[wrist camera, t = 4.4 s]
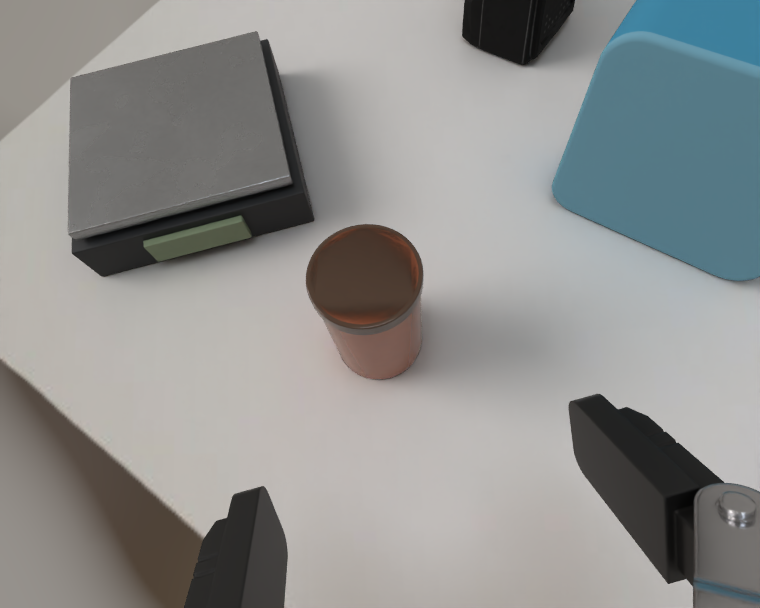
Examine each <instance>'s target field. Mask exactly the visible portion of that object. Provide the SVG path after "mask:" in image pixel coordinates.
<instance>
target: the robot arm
mask: <svg viewBox="0 0 760 608" xmlns="http://www.w3.org/2000/svg"><path fill="white" fill-rule="evenodd" d="M569 415H570V424H571V432H572V440H573V449H574V454H575V457H576V460H577V463H578V465H579V467H580V469H581V471H582V473H583V474H584V475H585V477H586V478H587V479H588V481H589V482H590V483H591V485H592V486H593V487H594V488H595V490H596V491H597V492H598V494H599V495H600V496H601V498H602V499H603V500H604V501H605V503H606V504H607V505H608V507H609V508H610V509H611V510H612V512H613V513H614V514H615V516H616V517H617V518H618V520H619V521H620V522H621V523H622V525H623V526H624V527H625V529H626V530H627V531H628V532H629V534H630V535H631V536H632V538H633V539H634V540H635V542H636V543H637V544H638V545H639V547H640V548H641V549H642V551H643V552H644V553H645V555H646V556H647V557H648V558H649V560H650V561H651V562H652V564H653V565H654V566H655V567H656V569H657V570H658V571H659V573H660V574H661V575H662V577H663V578H664V579H665V580H666V582H667V583H668V584H670V583H673V582H677V581H680V580H684V579H687V580H688V581H689V582H690V584H691V585H692V586H693V608H760V492H759V491H757V490H754V489H752V488H749V487H746V486H743V485H738V484H732V483H724V482H723V481H722V480H721V479H720V478H719V477H717V476H716V475H715V474H714V473H713V472H712V471H710V470H709V469H708V468H707V467H706V466H705V465H703V464H702V463H701V462H700V461H699V460H698V459H697V458H695V457H694V456H693V455H692V454H691V453H690V452H688V451H687V450H686V449H685V448H684V447H683V446H682V445H680V444H679V443H676V441H675V439H673V438H672V437H671V436H670V435H669V434H668V433H667V432H664V431H663V429H662V428H661V427H660V426H658V425H657V424H656V423H655V422H654V421H653V420H652V419H650V418H649V417H648V416H646V415H644V414H642V413H639V412H637V411H635V410H632V409H630V408H628V407H625V408H622V409H616V408H615V407H614V406H613V405H612V404H611V403H610V402H609V401H608V400H607V399H606V398H605V397H604V396H602V395H601V394H595V395H592V396H588V397H584V398H581V399H577V400H574V401H571V402H570V403H569ZM287 559H288V552H287V543H286V538H285V534H284V531H283V528H282V526H281V523H280V521H279V518H278V516H277V514H276V511H275V509H274V506H273V504H272V501H271V499H270V496H269V494H268V492H267V490H266V488H265V487H264V486H261V487H258V488H254V489H251V490H247V491H244V492H240V493H236V494H234V495H233V497H232V500H231V504H230V508H229V512H228V517H227V518H225V519H222V520H218V521H216V522H215V523H214V525H213V526H212V528H211V529H210V531H209V532H208V533H207V535H206V536H205V538H204V539H203V542H202V546H201V549H200V553H199V557H198V563H196V567H195V570H194V574H193V576H194V579H192V581H191V585H190V588H189V592H188V595H187V599H186V602H185V606H184V608H284V600H285V586H286V572H287Z"/></svg>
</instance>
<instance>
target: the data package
mask: <svg viewBox="0 0 760 608" xmlns="http://www.w3.org/2000/svg"><path fill="white" fill-rule="evenodd" d="M552 192H553V195H554V197H555V198H556V200H557V201H558V202H559V203H560V204H561V205H562V206H563V207H564V208H566V209H568V210H570V211H572V212H574V213H576V214H578V215H581V216H583V217H585V218H587V219H589V220H592V221H594V222H596V223H598V224H601V225H603V226H605V227H607V228H610V229H612V230H614V231H616V232H619V233H621V234H623V235H625V236H628V237H630V238H632V239H634V240H637V241H639V242H641V243H643V244H646V245H648V246H650V247H652V248H654V249H657V250H659V251H661V252H663V253H666V254H668V255H670V256H672V257H675V258H677V259H679V260H681V261H684V262H686V263H688V264H690V265H693V266H695V267H697V268H699V269H702V270H704V271H706V272H708V273H710V274H713V275H715V276H718V277H720V278H724V279H728V280H736V281H744V280H751V279H755V278H758V277H760V0H636V2H635V3H634V5H633V6H632V8H631V9H630V11H629V12H628V14H627V15H626V17H625V18H624V20H623V22H622V23H621V25H620V26H619V28H618V29H617V31H616V32H615V34H614V35H613V37H612V38H611V40H610V41H609V43H608V44H607V46H606V47H605V49H604V50H603V52H602V54H601V56H600V58H599V61H598V64H597V66H596V69H595V71H594V74H593V77H592V79H591V82H590V85H589V87H588V90H587V93H586V95H585V98H584V101H583V103H582V106H581V109H580V111H579V114H578V117H577V119H576V122H575V125H574V127H573V130H572V133H571V135H570V138H569V141H568V143H567V146H566V149H565V151H564V154H563V156H562V159H561V162H560V164H559V167H558V170H557V172H556V175H555V178H554V180H553V184H552Z"/></svg>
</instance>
